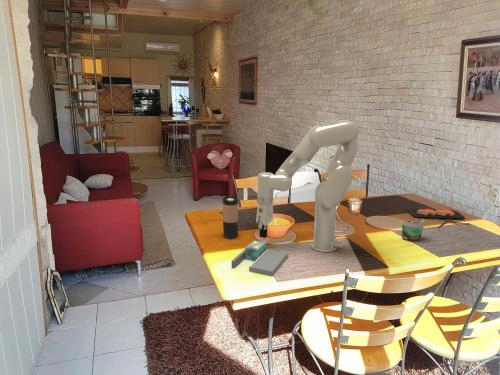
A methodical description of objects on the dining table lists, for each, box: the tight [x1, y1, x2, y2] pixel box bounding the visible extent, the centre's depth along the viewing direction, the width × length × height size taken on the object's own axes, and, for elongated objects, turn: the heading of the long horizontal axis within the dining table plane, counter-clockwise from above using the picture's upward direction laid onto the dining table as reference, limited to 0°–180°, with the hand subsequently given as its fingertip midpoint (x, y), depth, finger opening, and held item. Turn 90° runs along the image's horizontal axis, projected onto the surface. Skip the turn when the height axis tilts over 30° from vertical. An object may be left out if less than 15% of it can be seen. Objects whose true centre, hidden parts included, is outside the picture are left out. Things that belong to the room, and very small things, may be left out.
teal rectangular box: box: [244, 239, 267, 261], centre depth 169 cm, size 6×10×5 cm, turn 156°
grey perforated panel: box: [231, 248, 289, 277], centre depth 163 cm, size 18×20×3 cm
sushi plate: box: [407, 208, 470, 229], centre depth 218 cm, size 29×30×4 cm
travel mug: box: [222, 195, 239, 240], centre depth 190 cm, size 8×8×20 cm
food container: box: [400, 218, 426, 243], centre depth 187 cm, size 12×6×10 cm, turn 105°
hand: (263, 236), depth 178 cm, fingers closed
